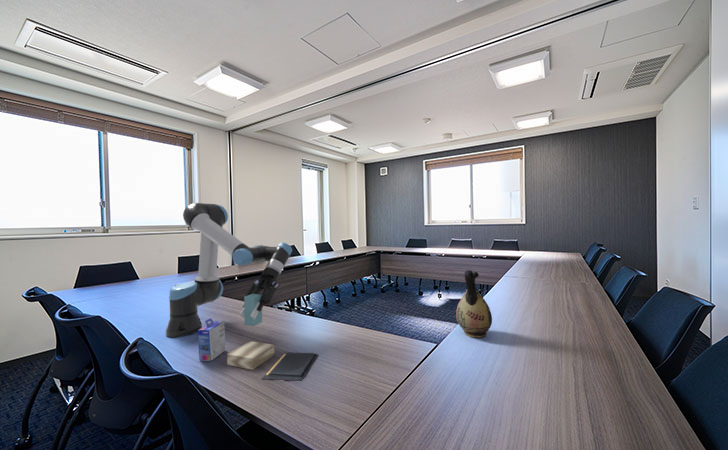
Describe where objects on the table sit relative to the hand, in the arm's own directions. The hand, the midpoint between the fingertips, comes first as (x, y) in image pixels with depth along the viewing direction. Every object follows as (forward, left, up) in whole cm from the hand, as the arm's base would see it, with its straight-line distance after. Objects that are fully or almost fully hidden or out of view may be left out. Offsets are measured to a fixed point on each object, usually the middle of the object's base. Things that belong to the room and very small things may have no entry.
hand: (247, 316), depth 117 cm
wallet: (+26, -5, -15) cm, 30 cm away
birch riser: (+8, -6, -14) cm, 17 cm away
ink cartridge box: (-10, -8, -14) cm, 19 cm away
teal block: (0, +4, -4) cm, 5 cm away
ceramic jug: (+89, +45, -14) cm, 101 cm away
